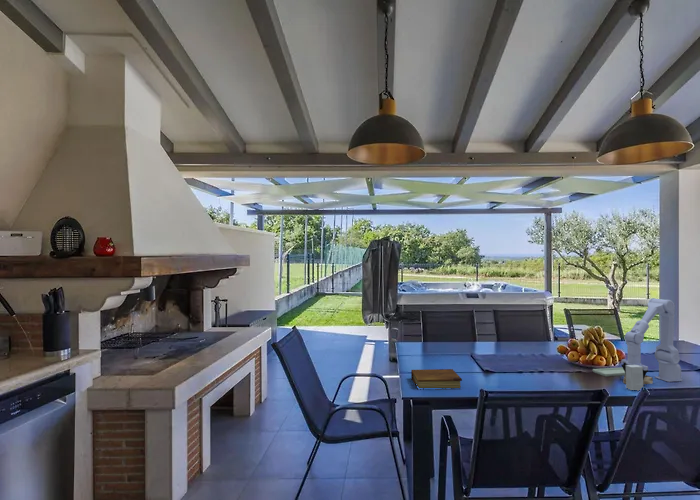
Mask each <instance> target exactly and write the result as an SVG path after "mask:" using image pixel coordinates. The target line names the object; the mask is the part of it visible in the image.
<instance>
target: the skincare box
mask: <svg viewBox="0 0 700 500" xmlns="http://www.w3.org/2000/svg"><path fill="white" fill-rule="evenodd" d="M625 376H626V384H625V387H626V389H627V388H628V389H627V390H629V389H630V390H629V391H631V390H637V391H636V392H638V391H639V390H640V389H641V388H642V387H643V388H644V384H643V367H641V366H639V365H626V375H625ZM639 392H640V391H639Z"/></svg>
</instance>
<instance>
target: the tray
mask: <svg viewBox="0 0 700 500" xmlns="http://www.w3.org/2000/svg"><path fill="white" fill-rule="evenodd" d="M592 372H593V373H595V374H597V375H600V376H602V377H605V378H607V377H609V378H610V377H622V376H623V377H624V376H626V374H625V371H624V369H623V367H622V366H621V367H608V368H592Z"/></svg>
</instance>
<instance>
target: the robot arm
mask: <svg viewBox="0 0 700 500" xmlns="http://www.w3.org/2000/svg"><path fill="white" fill-rule="evenodd" d="M675 305H676V304H675V303H674V302H673V300H671V299H661V298H653V297H651V298H650V299H649V300H648V303H647V309H646V310H645V312H644V313H643V316H642V318H641V319H640V320H637V321H636V322H635V324H634V325H633V327H632V328H631V329H630V331H626V333H625V334H624V337H623V338H624V340H625V344H626V346H627V347H626V348H627V359H625V358H624V359H621V361H620V362H621V365H620V366H621V367H623V369H624V371H625V374H626V365H639V366H641V367H643V380H644V377H645V375H646V374H648V372H649V366H647V365H645V364H643V363H642V356H641V355H642V354H641V353H642V352H641V351H642V349H641V347H642V346H641V345H642V343H643V342H644V337H645V333H646V332H647V330H649V328H650V325H649V324H650V322H651V321H652V320H653V319H654V318H655V316H656V315H657V314H659V315H660V316H661V322H660V323H661V324H660V343H659V344H658V345H657V346H656V347H655V352H654V358H655V359H656V360H657V362H658V376H657V375H656V376H654V378H656V379H659V380H661V381H665V382H668V383H669V382H670V383H671V382H683V381H684V379H682V368H681V365H680V364H679V363H680V360H681V359H680V352H679V350H678V348H676V347H675V346H674V336H675V335H674V333H675V332H674V331H675V330H674V328H675V313H676V311H675V309H676V306H675ZM646 376H647V375H646Z"/></svg>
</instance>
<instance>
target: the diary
mask: <svg viewBox="0 0 700 500" xmlns="http://www.w3.org/2000/svg"><path fill="white" fill-rule="evenodd" d="M410 373H411V374H410V375H411V376H410V377H411V381H412V382H413V384H414V383H415V384H417V385H416V386H418V387H419V388H460V387H462V385H461V382H462V381H463V378H461V376H460V375H458V373H457V372H456V371H455V370H454V369H453V368H450V369H449V368H444V369H443V368H440V369H437V368H435V369H434V368H433V369H411V372H410ZM415 384H414V385H415ZM416 386H415V387H416Z"/></svg>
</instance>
